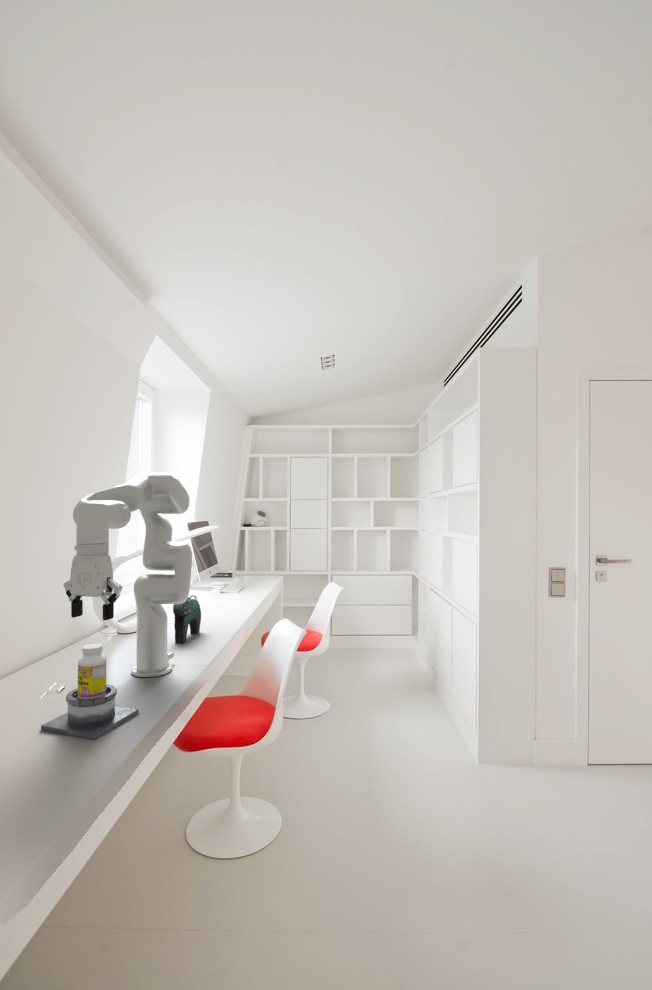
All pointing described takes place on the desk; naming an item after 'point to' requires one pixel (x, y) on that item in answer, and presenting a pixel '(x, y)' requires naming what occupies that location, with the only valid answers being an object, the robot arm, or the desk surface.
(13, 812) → the desk surface
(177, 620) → the green elephant figurine
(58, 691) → the picture light
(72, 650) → the desk surface
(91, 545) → the robot arm
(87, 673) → the supplement bottle
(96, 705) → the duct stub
